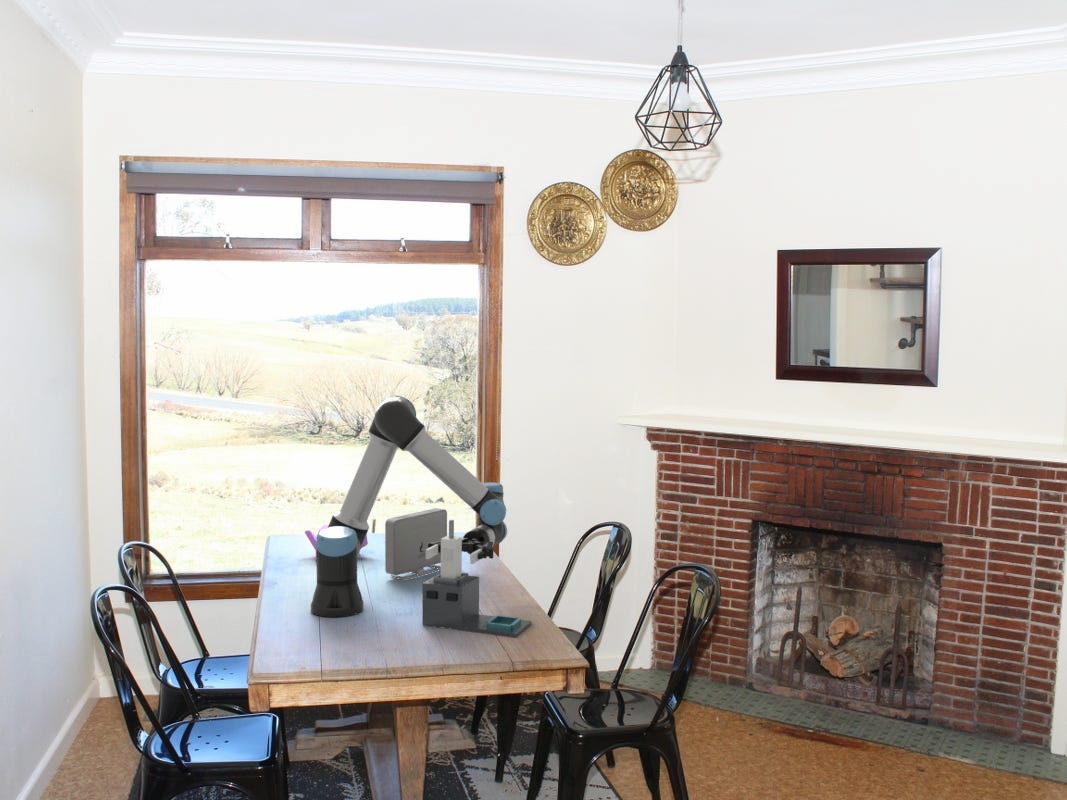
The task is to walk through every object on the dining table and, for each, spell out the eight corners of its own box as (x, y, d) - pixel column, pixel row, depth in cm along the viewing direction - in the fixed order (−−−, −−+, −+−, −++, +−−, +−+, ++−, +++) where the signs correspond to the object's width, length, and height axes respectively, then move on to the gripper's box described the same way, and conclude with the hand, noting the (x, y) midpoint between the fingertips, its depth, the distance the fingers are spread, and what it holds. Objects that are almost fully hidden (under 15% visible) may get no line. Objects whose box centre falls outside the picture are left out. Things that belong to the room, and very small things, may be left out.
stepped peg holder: (515, 638, 267) (516, 589, 266) (421, 625, 276) (421, 579, 275) (531, 624, 279) (532, 578, 278) (440, 613, 288) (440, 568, 287)
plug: (453, 583, 276) (454, 523, 274) (439, 581, 277) (439, 521, 276) (461, 578, 281) (461, 519, 279) (447, 577, 282) (447, 518, 281)
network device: (398, 583, 319) (398, 521, 318) (379, 578, 325) (379, 518, 323) (451, 567, 340) (452, 509, 338) (433, 563, 345) (433, 506, 343)
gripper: (517, 556, 293) (490, 574, 273) (440, 549, 301) (408, 565, 281) (517, 531, 292) (490, 547, 272) (440, 524, 300) (408, 539, 281)
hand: (448, 556), depth 277 cm, fingers open, 13 cm apart
